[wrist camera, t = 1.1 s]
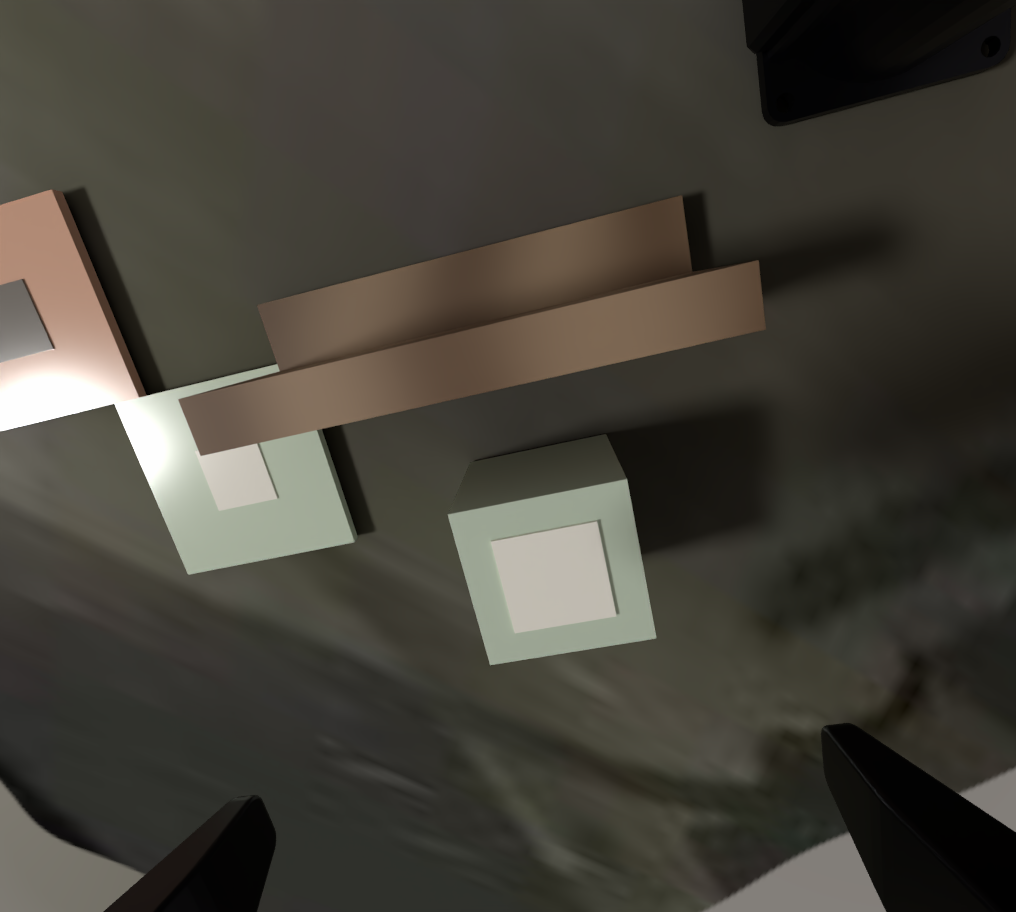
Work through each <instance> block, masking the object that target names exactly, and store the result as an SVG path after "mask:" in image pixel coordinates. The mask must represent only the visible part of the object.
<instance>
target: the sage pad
mask: <svg viewBox="0 0 1016 912" xmlns="http://www.w3.org/2000/svg"><path fill="white" fill-rule="evenodd" d="M279 371H280V370H279V368H278V365H277V364H276V365H271V366H267V367H263V368H259V369H255V370H251V371H247V372H243V373H238V374H234V375H230V376H226V377H222V378H218V379H214V380H210V381H205V382H201V383H197V384H193V385H189V386H185V387H181V388H177V389H173V390H168V391H164V392H160V393H156V394H152V395H148V396H144V397H140V398H136V399H131V400H127V401H123V402H119V403H115V406H116V409H117V411H118V413H119V416H120V418H121V420H122V422H123V425H124V427H125V429H126V432H127V434H128V436H129V439H130V441H131V443H132V446H133V448H134V450H135V453H136V455H137V457H138V459H139V462H140V464H141V466H142V469H143V471H144V473H145V476H146V478H147V480H148V483H149V485H150V487H151V490H152V492H153V494H154V496H155V499H156V501H157V503H158V506H159V508H160V510H161V513H162V515H163V517H164V520H165V522H166V524H167V527H168V529H169V531H170V533H171V536H172V538H173V540H174V543H175V545H176V547H177V550H178V552H179V554H180V557H181V559H182V561H183V563H184V566H185V568H186V570H187V573H188V575H189V574H194V573H199V572H204V571H209V570H215V569H220V568H225V567H230V566H235V565H240V564H245V563H250V562H256V561H261V560H266V559H271V558H276V557H281V556H286V555H291V554H297V553H302V552H307V551H312V550H317V549H322V548H327V547H332V546H338V545H343V544H348V543H353V542H355V541H356V540H357V538H358V536H357V533H356V530H355V527H354V524H353V521H352V518H351V515H350V512H349V509H348V506H347V503H346V500H345V497H344V494H343V491H342V488H341V485H340V482H339V479H338V476H337V473H336V470H335V467H334V464H333V461H332V458H331V455H330V452H329V449H328V446H327V443H326V440H325V437H324V434H323V431H322V429H319V430H315V431H310V432H306V433H302V434H297V435H293V436H288V437H284V438H279V439H275V440H270V441H266V442H261V443H257V444H253V445H248V446H244V447H239V448H235V449H230V450H226V451H221V452H217V453H212V454H208V455H203V456H200V453H199V451H198V448H197V446H196V443H195V441H194V438H193V436H192V433H191V431H190V428H189V426H188V423H187V421H186V418H185V416H184V413H183V411H182V408H181V406H180V403H179V401H178V399H181V398H185V397H188V396H192V395H196V394H199V393H203V392H206V391H210V390H214V389H217V388H221V387H225V386H228V385H232V384H235V383H239V382H243V381H246V380H250V379H253V378H257V377H261V376H264V375H268V374H272V373H275V372H279Z"/></svg>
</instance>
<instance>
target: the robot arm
mask: <svg viewBox="0 0 1016 912" xmlns="http://www.w3.org/2000/svg"><path fill="white" fill-rule="evenodd" d="M742 3H743V13H744V23H745V33H746V43H747V47H748V48H749V49H750V50H751V51H752V52H753V53H754V54H756V55H757V66H758V76H759V86H760V97H761V107H762V114H763V117H764V120H765V121H766V122H767V123H768V124H770V125H772V126H783V125H786V124H790V123H794V122H798V121H801V120H805V119H809V118H813V117H816V116H820V115H824V114H828V113H831V112H835V111H839V110H842V109H846V108H850V107H854V106H857V105H861V104H865V103H869V102H872V101H876V100H880V99H883V98H887V97H891V96H895V95H898V94H902V93H906V92H910V91H913V90H917V89H921V88H925V87H928V86H932V85H936V84H939V83H943V82H947V81H951V80H954V79H958V78H962V77H966V76H969V75H973V74H977V73H980V72H982V71H984V70H986V69H988V68H990V67H992V66H994V65H996V64H998V63H999V62H1000V61H1001V60H1002V59H1003V58H1004V57H1005V55H1006V54H1007V52H1008V50H1009V46H1010V28H1011V7H1012V6H1014V5H1015V4H1016V0H742ZM982 43H986V44H987V45H988V47H989V54H988V57H985V56H983V55H982V53H981V46H982ZM778 98H784V99H786V100H787V102H788V110H787V112H786V113H781V112H780V111H778V110H777V107H776V101H777V99H778ZM821 742H822V755H823V768H824V774H825V778H826V781H827V784H828V786H829V789H830V791H831V793H832V795H833V798H834V800H835V802H836V804H837V806H838V808H839V811H840V813H841V815H842V817H843V819H844V822H845V824H846V826H847V828H848V830H849V832H850V835H851V837H852V839H853V841H854V843H855V846H856V848H857V850H858V852H859V854H860V857H861V858H862V861H863V863H864V865H865V867H866V870H867V872H868V874H869V876H870V878H871V880H872V883H873V885H874V887H875V889H876V891H877V893H878V895H879V897H880V900H881V902H882V904H883V906H884V908H885V910H886V912H1016V832H1014V831H1013V830H1011V829H1010V828H1008V827H1007V826H1005V825H1004V824H1002V823H1001V822H999V821H998V820H996V819H995V818H993V817H992V816H990V815H989V814H987V813H986V812H984V811H983V810H981V809H980V808H978V807H977V806H975V805H974V804H972V803H971V802H969V801H968V800H966V799H965V798H963V797H962V796H961V795H959V794H958V793H956V792H955V791H953V790H952V789H950V788H949V787H947V786H946V785H944V784H943V783H941V782H940V781H938V780H937V779H935V778H934V777H932V776H931V775H929V774H928V773H926V772H925V771H923V770H922V769H920V768H919V767H917V766H916V765H914V764H913V763H911V762H910V761H908V760H907V759H905V758H904V757H902V756H901V755H899V754H898V753H896V752H895V751H893V750H892V749H890V748H889V747H887V746H886V745H884V744H883V743H881V742H880V741H878V740H877V739H875V738H874V737H872V736H871V735H869V734H868V733H866V732H865V731H863V730H862V729H860V728H859V727H857V726H856V725H853V724H851V723H843V724H834V725H826V726H824V727H823V728H822V731H821ZM275 846H276V831H275V828H274V826H273V824H272V821H271V819H270V817H269V814H268V812H267V810H266V807H265V805H264V803H263V801H262V799H261V798H260V797H259V796H258V795H250V796H242V797H236V798H234V799H232V800H230V801H229V802H228V803H227V804H226V805H224V806H223V807H222V808H221V809H220V810H219V811H218V812H216V813H215V814H214V815H213V816H212V817H211V818H210V819H208V820H207V821H206V822H205V823H204V824H203V825H202V826H201V827H199V828H198V829H197V830H196V831H195V832H194V833H193V834H191V835H190V836H189V837H188V838H187V839H186V840H185V841H183V842H182V843H181V844H180V845H179V846H178V847H177V848H175V849H174V850H173V851H172V852H171V853H170V854H169V855H167V856H166V857H165V858H164V859H163V860H162V861H161V862H159V863H158V864H157V865H156V866H155V867H154V868H153V869H152V870H150V871H149V872H148V873H147V874H146V875H145V876H144V877H142V878H141V879H140V880H139V881H138V882H137V883H136V884H134V885H133V886H132V887H131V888H130V889H129V890H128V891H127V892H125V893H124V894H123V895H122V896H121V897H120V898H119V899H117V900H116V901H115V902H114V903H113V904H112V905H110V906H109V907H108V908H107V909H106V910H105V911H104V912H257V910H258V906H259V903H260V899H261V896H262V892H263V889H264V885H265V882H266V878H267V875H268V871H269V868H270V864H271V861H272V857H273V854H274V850H275Z"/></svg>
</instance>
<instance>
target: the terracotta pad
mask: <svg viewBox="0 0 1016 912" xmlns="http://www.w3.org/2000/svg"><path fill="white" fill-rule="evenodd" d="M144 396H147V395H146V393H145V390H144V388H143V385H142V383H141V381H140V378H139V376H138V373H137V371H136V369H135V366H134V364H133V361H132V359H131V356H130V354H129V352H128V349H127V347H126V344H125V342H124V340H123V337H122V335H121V332H120V330H119V328H118V325H117V323H116V320H115V318H114V315H113V313H112V311H111V308H110V306H109V303H108V301H107V299H106V296H105V294H104V291H103V289H102V287H101V284H100V282H99V279H98V277H97V275H96V272H95V270H94V267H93V265H92V262H91V260H90V258H89V255H88V253H87V250H86V248H85V246H84V243H83V241H82V238H81V236H80V234H79V231H78V229H77V226H76V224H75V221H74V219H73V217H72V214H71V212H70V209H69V207H68V205H67V202H66V200H65V197H64V195H63V193H62V192H61V191H56V190H48V191H45V192H42V193H39V194H35V195H32V196H29V197H25V198H22V199H19V200H15V201H12V202H9V203H5V204H2V205H0V431H4V430H8V429H12V428H16V427H20V426H24V425H28V424H32V423H37V422H41V421H45V420H49V419H53V418H57V417H61V416H65V415H70V414H74V413H78V412H82V411H86V410H90V409H94V408H98V407H103V406H107V405H111V404H115V403H119V402H123V401H127V400H131V399H136V398H140V397H144Z"/></svg>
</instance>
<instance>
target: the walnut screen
mask: <svg viewBox="0 0 1016 912" xmlns="http://www.w3.org/2000/svg"><path fill="white" fill-rule="evenodd" d="M257 307H258V310H259V312H260V315H261V318H262V321H263V324H264V327H265V330H266V333H267V336H268V339H269V341H270V344H271V347H272V350H273V353H274V356H275V359H276V362H277V365H278V368H279V370H280V371H279V372H275V373H272V374H268V375H264V376H261V377H257V378H253V379H250V380H246V381H243V382H239V383H235V384H232V385H228V386H225V387H221V388H217V389H214V390H210V391H206V392H203V393H199V394H196V395H192V396H188V397H185V398H181V399H178V401H179V403H180V406H181V408H182V411H183V413H184V416H185V418H186V421H187V423H188V426H189V428H190V431H191V433H192V436H193V438H194V441H195V443H196V446H197V448H198V451H199V453H200V456H203V455H208V454H212V453H217V452H221V451H226V450H230V449H235V448H239V447H244V446H248V445H253V444H257V443H261V442H266V441H270V440H275V439H279V438H284V437H288V436H293V435H297V434H302V433H306V432H310V431H315V430H319V429H324V428H328V427H333V426H337V425H342V424H346V423H351V422H355V421H360V420H364V419H368V418H373V417H377V416H382V415H386V414H391V413H395V412H400V411H404V410H409V409H413V408H418V407H422V406H426V405H431V404H435V403H440V402H444V401H449V400H453V399H458V398H462V397H467V396H471V395H475V394H480V393H484V392H489V391H493V390H498V389H502V388H507V387H511V386H516V385H520V384H525V383H529V382H533V381H538V380H542V379H547V378H551V377H556V376H560V375H565V374H569V373H574V372H578V371H583V370H587V369H591V368H596V367H600V366H605V365H609V364H614V363H618V362H623V361H627V360H632V359H636V358H641V357H645V356H649V355H654V354H658V353H663V352H667V351H672V350H676V349H681V348H685V347H690V346H694V345H698V344H703V343H707V342H712V341H716V340H721V339H725V338H730V337H734V336H739V335H743V334H748V333H752V332H756V331H761V330H765V329H766V326H765V317H764V307H763V298H762V288H761V279H760V269H759V260H756V261H751V262H745V263H740V264H734V265H728V266H723V267H717V268H712V269H706V270H700V271H695V272H692V266H691V258H690V251H689V243H688V236H687V229H686V221H685V214H684V207H683V199H682V195H681V196H677V197H673V198H669V199H665V200H662V201H658V202H654V203H650V204H646V205H642V206H638V207H635V208H631V209H627V210H623V211H619V212H615V213H611V214H607V215H604V216H600V217H596V218H592V219H588V220H584V221H580V222H577V223H573V224H569V225H565V226H561V227H557V228H553V229H549V230H546V231H542V232H538V233H534V234H530V235H526V236H522V237H518V238H515V239H511V240H507V241H503V242H499V243H495V244H491V245H488V246H484V247H480V248H476V249H472V250H468V251H464V252H460V253H457V254H453V255H449V256H445V257H441V258H437V259H433V260H429V261H426V262H422V263H418V264H414V265H410V266H406V267H402V268H399V269H395V270H391V271H387V272H383V273H379V274H375V275H371V276H368V277H364V278H360V279H356V280H352V281H348V282H344V283H341V284H337V285H333V286H329V287H325V288H321V289H317V290H313V291H310V292H306V293H302V294H298V295H294V296H290V297H286V298H282V299H279V300H275V301H271V302H267V303H263V304H259V305H257Z"/></svg>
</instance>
